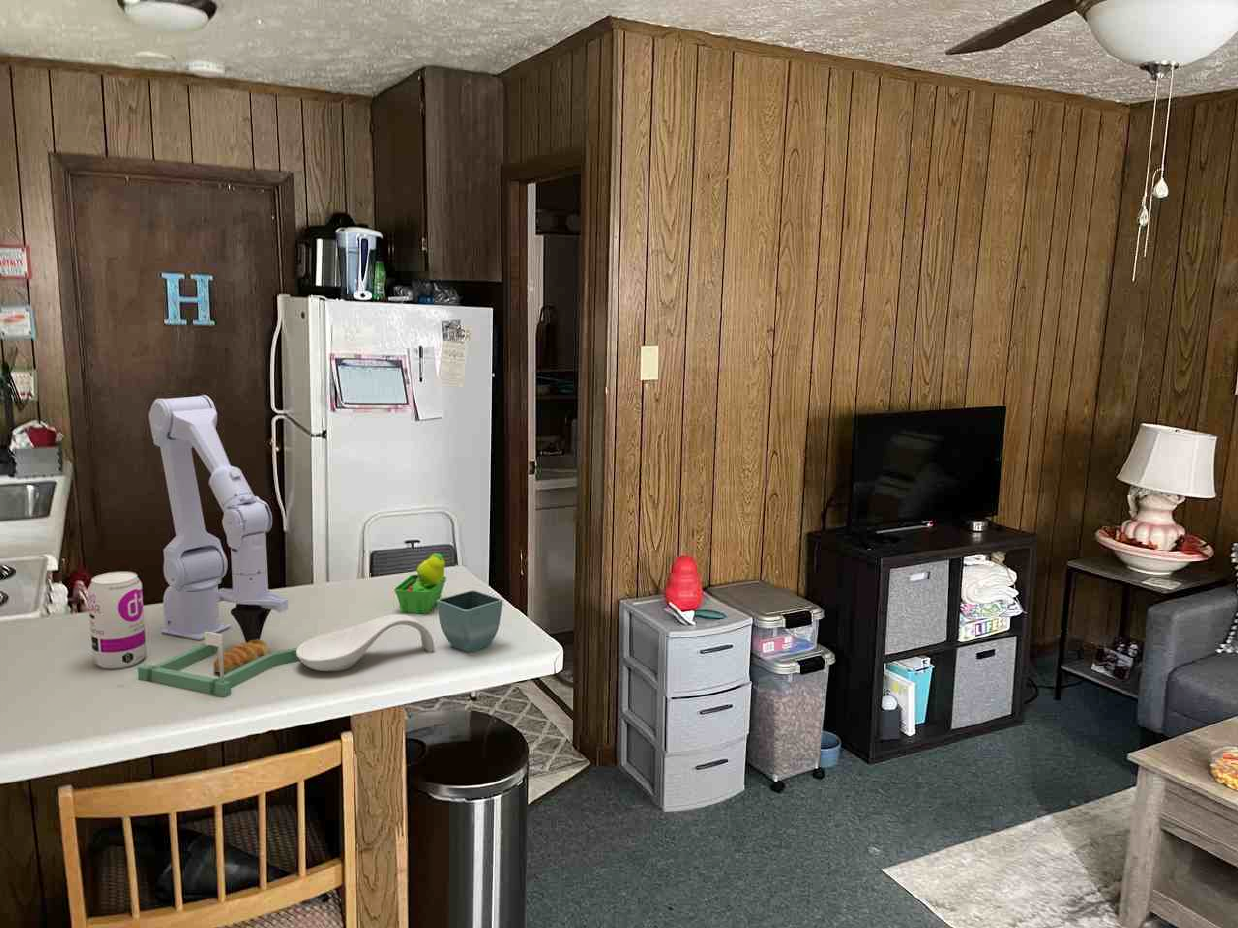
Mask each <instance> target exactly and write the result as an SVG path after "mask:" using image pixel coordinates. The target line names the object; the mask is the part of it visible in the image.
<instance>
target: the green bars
mask: <svg viewBox="0 0 1238 928" xmlns="http://www.w3.org/2000/svg"><path fill="white" fill-rule="evenodd" d="M204 634H205V638H204V643H203V644H200V645H199V646H196V647H194V648H191V649H190V650H187V651H185V652H183V653H180V654H178V655H176V656H173V657H171V658H169V659H166V660H164V661H162V662H160V663H157V664H154V665H151V664H146V663H144V664H142V665H140V666H138V667H137V671H138V672H137V674H138V680H143V681H148V682H152V683H156V684H162V685H165V686H166V685H167V686H170V687H176V688H180V689H183V690H184V689H185V690H190V691H193V692H199V693H203V694H209V695H214V696H218V697H222V698H225V697H227V696H229V695H232V688H233V687H235V686H237V685H239V684H241V683H243V682H244V681H247V680H248V679H250V678H253V677H254V676H257V675H259V674H260V673H263V672H264V671H267V670H268V669H271V668H273V667H277V666H280V665H285V664H289V663H294V662H298V661H300V660H299V659H298V657H297V655H296V649H297V648H298V646H297V647H293V648H288V649H282V650H279V651H274V652H271V653H269V654H266V655H264V656H262V657H260V658H258V659H256V660H254V661H252V662H250V663H248V664H246V665H243V666H241V667H239V668H237V669H235V670H233V671H231V672H229V673H227V674H226V673H224V667H223V654H224V651H223V634H222V633H221V632H217V633H210V632H204ZM217 651H218V658H219V668H220V672H219V677H217V678H215V677H209V676H205V675H204V676H203V675H199V674H195V673H189V672H185V671H180V670H181V669H184V668H186V667H189V666H191V665H193V664H195V663H197V662H200V661H202V660H204V659H206V658H208V657H211V656H213V655H215V654H216V652H217Z"/></svg>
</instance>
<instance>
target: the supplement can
mask: <svg viewBox="0 0 1238 928" xmlns="http://www.w3.org/2000/svg"><path fill="white" fill-rule="evenodd" d="M143 597H144V595H143V583H142V581H141V579H140V577H138V574H137V573H136V572H132V571H113V572H107V573H102V574H98V575H96V576H93V577H92V578H91V580H90V583H89V585H88V587H87V599H88V601H87V602H88V611H89V614H88V615H89V625H90V639H91V648H92V649H91V650H92V661H93V663H94V664H95V665H97V666H98V667H100V668H101V669H109V670H112V669H113V670H114V669H115V670H117V669H124V668H129V667H131V666H135V665H137V664H139V663H140V662H142V661H143V660H144V658H145V657H147V654H148V653H147V640H146V626H145V611H144V610H145V609H144V598H143Z"/></svg>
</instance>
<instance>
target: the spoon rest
mask: <svg viewBox="0 0 1238 928" xmlns="http://www.w3.org/2000/svg"><path fill="white" fill-rule="evenodd" d="M400 625H402V626H403V625H405V626H408V627H409V626H410V627H413V628H415V629H416V630H417V631H418V632H419V633H420V640H421V647H423V648H424V649H425V650H426V651H427V652H430V653H434V651H435V641H434V639H433V637H432V634H431V633H430V631H429V629H428V628H427V627H426V626H425V625H423V623H422V622H421V621H419V619H417V618H415V617H413V616H410V615H406V614H399V613H398V614H388V615H384V616H380V617H378V618H375V619H372V620H370V621H366V622H363V623H361V624H357V625H354V626H352V627H347V628H344V629H341V630H337V631H333V632H328V633H325V634H321V635H318V636H314V637H312V638H310V639H307V640H305V641H303V642H301V643H300V644H299V645H298V646H297V647H298V648H297V649H296V655H297V657H298V659H299V661H300V662H301V663H302V664H304V665H305V666H306V667H308V668H310V669H312V670H316V671H318V672H319V671H320V672H321V671H322V672H327V671H332V672H339V670H340V671H344V669H345V670H347V668H348V669H350V668H352V667H354V666H353V665H354V664H355V663H357V662H358V661H359V660H360V659H361V658H362V657H363V655H364V654H365V653H366V652H367V650H369V648H370V647H371V646H372V645H373V644H374V643H375V641H376V640H377V639H378V638H379V637H381V635H382V634H383V633H385V631H387V630H389V629H390V628H393V627H395V626H400ZM351 666H352V667H351ZM349 667H350V668H349Z"/></svg>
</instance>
